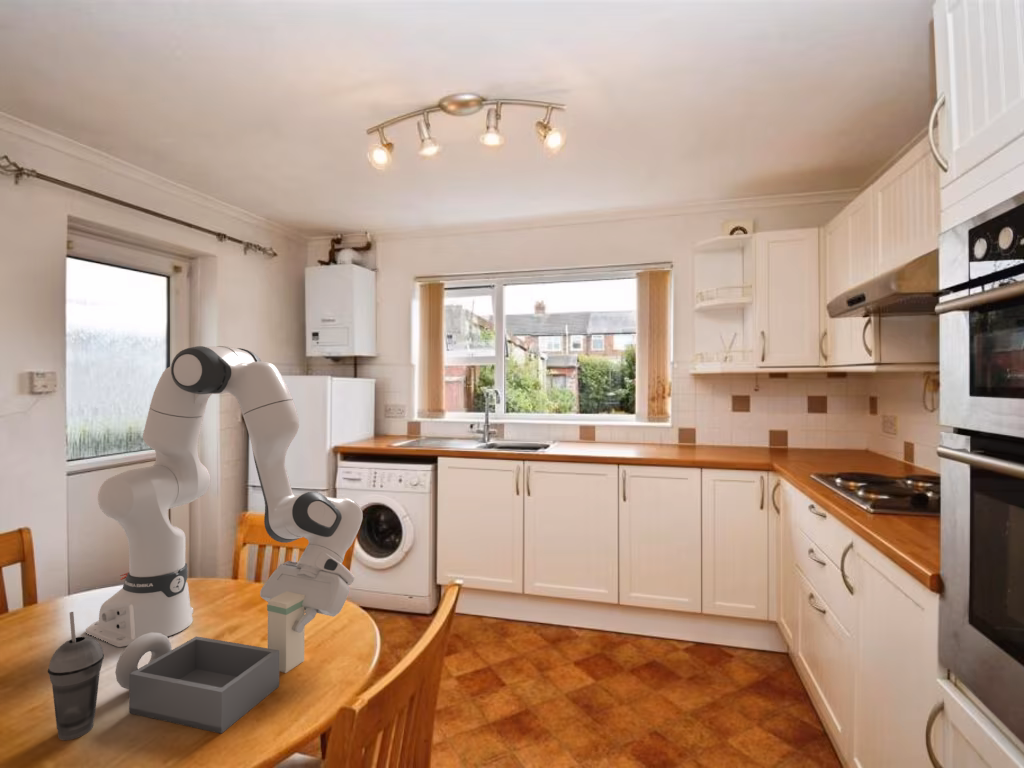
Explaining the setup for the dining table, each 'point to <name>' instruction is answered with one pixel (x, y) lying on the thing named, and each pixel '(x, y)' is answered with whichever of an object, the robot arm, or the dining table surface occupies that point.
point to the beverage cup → (75, 684)
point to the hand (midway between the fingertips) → (284, 628)
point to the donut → (140, 655)
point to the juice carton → (286, 629)
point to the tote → (204, 683)
